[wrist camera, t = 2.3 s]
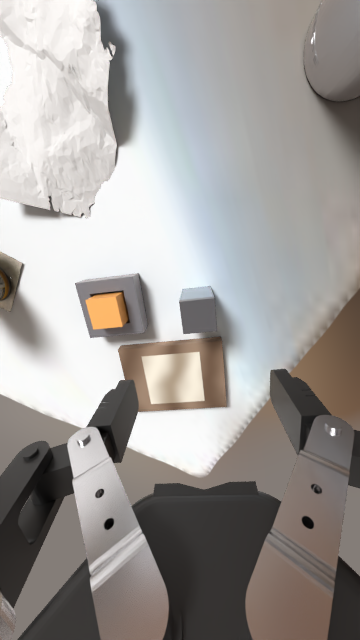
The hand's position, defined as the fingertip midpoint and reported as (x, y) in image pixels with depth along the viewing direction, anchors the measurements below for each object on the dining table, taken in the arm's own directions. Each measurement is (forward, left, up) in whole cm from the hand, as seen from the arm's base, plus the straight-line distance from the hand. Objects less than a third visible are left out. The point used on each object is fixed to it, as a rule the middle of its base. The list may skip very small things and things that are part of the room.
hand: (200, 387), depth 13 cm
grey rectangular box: (0, 0, -21) cm, 21 cm away
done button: (+12, -1, -19) cm, 22 cm away
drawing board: (+5, +12, -21) cm, 24 cm away
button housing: (+12, -1, -21) cm, 24 cm away
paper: (+16, -25, -21) cm, 36 cm away
